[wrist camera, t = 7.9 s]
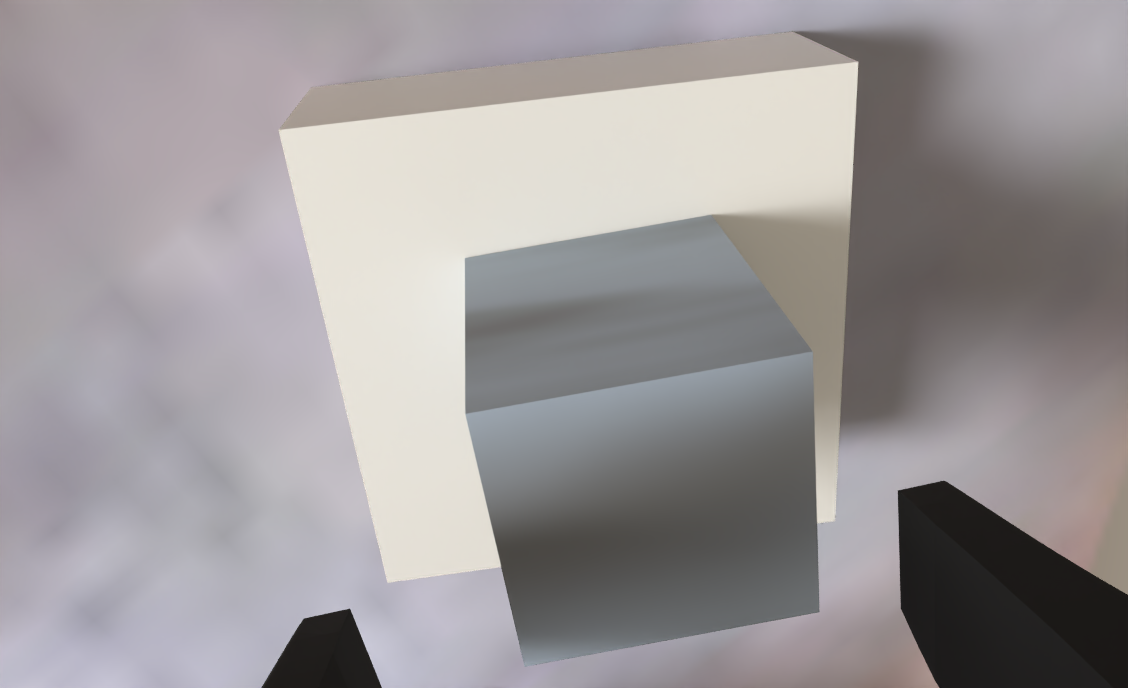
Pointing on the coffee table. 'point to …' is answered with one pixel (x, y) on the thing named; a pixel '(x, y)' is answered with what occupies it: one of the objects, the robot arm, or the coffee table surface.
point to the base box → (554, 231)
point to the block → (640, 439)
